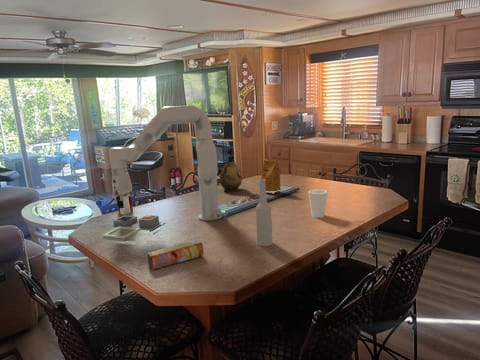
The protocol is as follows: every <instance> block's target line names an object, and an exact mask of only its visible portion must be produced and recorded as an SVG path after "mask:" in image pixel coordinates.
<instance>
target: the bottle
mask: <svg viewBox="0 0 480 360" xmlns="http://www.w3.org/2000/svg"><path fill="white" fill-rule="evenodd" d="M258 181H259V202H258V203H257V205H256V206H255V216H256V217H255V221H256V222H255V223H256V243H257V246H259V247H270V246H272V245H273V226H272V225H273V222H272V206H271V205H270V204H269V203H268V200H267V194H266V186H265V181H266V180H265V179H261V178H260V179H258Z"/></svg>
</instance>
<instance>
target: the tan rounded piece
mask: <svg viewBox="0 0 480 360" xmlns="http://www.w3.org/2000/svg"><path fill="white" fill-rule="evenodd" d="M152 215H153V214H146V215H144V216H143V217H144V218H145V219H152V218H153V216H152Z"/></svg>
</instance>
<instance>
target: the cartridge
mask: <svg viewBox="0 0 480 360" xmlns="http://www.w3.org/2000/svg"><path fill="white" fill-rule="evenodd" d="M118 197H120V196H118ZM122 200H123V205H124V208H120V213H119V214H120V215H129V214H130V213H131V212H130V205H129V197H128V193H126V194H124V195H122Z"/></svg>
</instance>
